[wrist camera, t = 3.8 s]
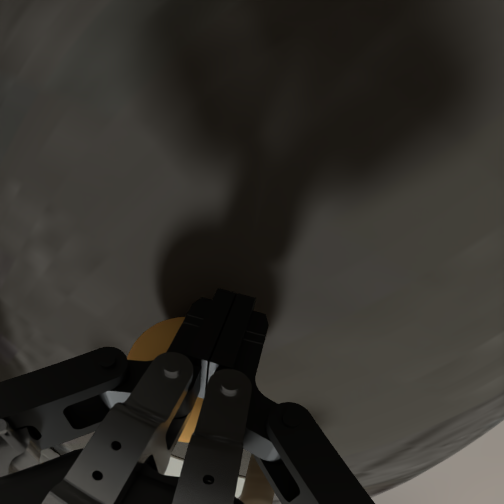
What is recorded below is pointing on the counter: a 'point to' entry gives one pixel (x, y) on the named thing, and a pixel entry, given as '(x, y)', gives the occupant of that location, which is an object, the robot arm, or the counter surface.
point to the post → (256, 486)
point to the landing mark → (176, 467)
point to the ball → (156, 344)
